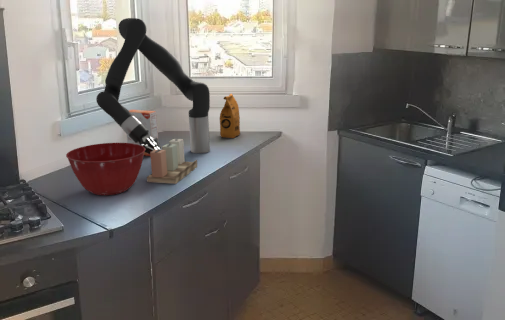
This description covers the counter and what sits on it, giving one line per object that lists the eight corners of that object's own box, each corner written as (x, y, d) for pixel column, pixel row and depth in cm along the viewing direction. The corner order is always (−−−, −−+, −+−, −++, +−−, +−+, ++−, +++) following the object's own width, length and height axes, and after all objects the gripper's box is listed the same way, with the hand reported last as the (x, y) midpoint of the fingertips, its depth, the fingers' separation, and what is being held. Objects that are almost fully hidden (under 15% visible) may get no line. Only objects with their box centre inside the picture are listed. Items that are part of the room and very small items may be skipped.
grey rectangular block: (170, 163, 220) (169, 140, 217) (175, 161, 224) (173, 138, 221) (180, 164, 219) (179, 141, 216) (184, 161, 223) (183, 138, 220)
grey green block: (163, 170, 211) (161, 146, 208) (168, 167, 215) (166, 143, 212) (173, 170, 210) (172, 146, 207) (178, 167, 214) (176, 143, 211)
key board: (175, 183, 201) (175, 176, 200) (147, 181, 204) (146, 174, 203) (197, 166, 222) (197, 159, 221) (171, 165, 225) (170, 158, 224)
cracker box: (127, 154, 245) (123, 111, 239) (135, 151, 250) (131, 109, 244) (152, 156, 240) (149, 112, 234) (159, 153, 245) (156, 110, 239)
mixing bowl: (110, 174, 215) (107, 138, 210) (163, 184, 201) (160, 146, 196) (55, 195, 192) (49, 155, 187) (110, 208, 177) (105, 165, 173)
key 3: (152, 176, 203) (150, 151, 200) (157, 173, 207) (155, 148, 204) (162, 177, 202) (160, 152, 199) (167, 173, 206) (165, 149, 203)
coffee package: (217, 137, 273) (215, 96, 267) (225, 132, 284) (224, 93, 278) (234, 138, 270) (233, 97, 263) (242, 133, 281) (241, 93, 275)
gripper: (132, 126, 205) (162, 157, 205) (147, 119, 217) (176, 149, 217) (121, 138, 207) (151, 169, 208) (137, 131, 220) (165, 160, 220)
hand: (164, 158), depth 212 cm, fingers closed
